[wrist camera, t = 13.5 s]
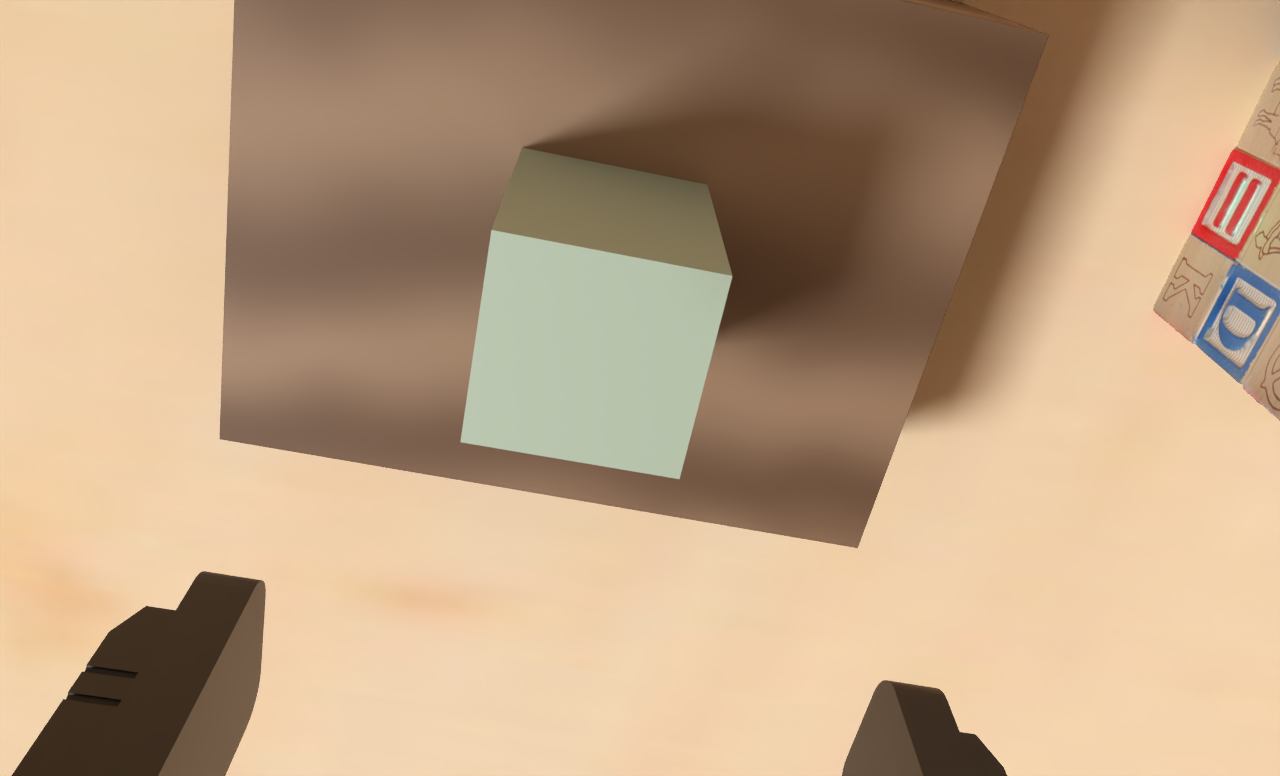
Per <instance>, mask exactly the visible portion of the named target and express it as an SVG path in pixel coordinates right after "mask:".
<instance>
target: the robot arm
mask: <svg viewBox="0 0 1280 776" xmlns="http://www.w3.org/2000/svg"><path fill="white" fill-rule="evenodd" d="M265 592H266V591H265V583H264V581H262V580H255V579H249V578H243V577H236V576H230V575H224V574H217V573H211V572H201V573H200V574H199V575H198V576H197V577H196V578H195V580H194V582H193V583H192V585H191V586H190V588H189V590H188V591H187V593H186V595H185V596H184V598H183V600H182V601H181V603H180V605H179V606H178V608H177V610H176V611H175V610H169V609H162V608H155V607H149V606H146V607H144V608H143V609H141V610H140V611H138V612H137V613H136V614H134V615H133V616H131V617H130V618H128V619H127V620H126V621H124V622H123V623H121V624H120V625H118V626H117V627H116V628H114V629H113V630H111V631H110V632H109V633H108V634H107V636H106V637H105V639H104V640H103V642H102V643H101V645H100V646H99V648H98V649H97V651H96V652H95V654H94V655H93V656H92V658H91V659H90V661H89V662H88V664H87V667H86V670H85V672H82V673H81V674H80V676H79V677H78V679H77V680H76V682H75V683H74V684H73V686H72V687H71V689H70V690H69V692H68V696H67V699H66V700H65V699H63V701H62V702H61V704H60V705H59V707H58V708H57V710H56V711H55V713H54V714H53V715H52V717H51V718H50V720H49V721H48V723H47V724H46V726H45V727H44V729H43V730H42V732H41V733H40V735H39V736H38V738H37V739H36V741H35V742H34V743H33V745H32V746H31V748H30V749H29V751H28V752H27V754H26V755H25V757H24V758H23V760H22V761H21V763H20V764H19V766H18V767H17V769H16V770H15V772H14V773H13V774H12V776H225V775H226V772H227V770H228V768H229V766H230V763H231V761H232V759H233V757H234V754H235V752H236V750H237V748H238V745H239V743H240V741H241V738H242V736H243V734H244V732H245V729H246V727H247V725H248V722H249V720H250V717H251V714H252V711H253V707H254V704H255V700H256V696H257V692H258V687H259V681H260V674H261V659H262V643H263V627H264V610H265ZM842 776H1007V774H1006V772H1005V770H1004V767H1003V766H1002V765H1001V764H1000V763H999V762H998V760H997V759H996V758H995V757H994V756H993V754H992V753H991V752H990V751H989V750H988V749H987V747H986V746H985V745H984V744H983V743H982V741H981V740H980V739H979V738H978V737H977V736H976V735H975V734H968V733H962V732H959V729H958V727H957V724H956V722H955V719H954V717H953V714H952V711H951V709H950V706H949V704H948V701H947V699H946V697H945V695H944V693H943V692H942V691H941V690H940V689H937V688H931V687H925V686H919V685H912V684H906V683H900V682H893V681H887V680H885V681H882V682H881V683H880V684H879V685H878V686H877V688H876V689H875V692H874V694H873V696H872V699H871V701H870V703H869V706H868V708H867V711H866V713H865V715H864V718H863V720H862V723H861V725H860V727H859V730H858V732H857V735H856V737H855V739H854V742H853V744H852V747H851V749H850V751H849V754H848V756H847V759H846V762H845V765H844V768H843V774H842Z"/></svg>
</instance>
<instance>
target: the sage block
mask: <svg viewBox="0 0 1280 776" xmlns="http://www.w3.org/2000/svg"><path fill="white" fill-rule="evenodd" d="M731 280H732V272H731V269H730V265H729V261H728V258H727V254H726V250H725V247H724V243H723V240H722V236H721V232H720V229H719V225H718V221H717V218H716V214H715V210H714V207H713V203H712V200H711V196H710V192H709V189H708V185H707V184H702V183H697V182H692V181H687V180H682V179H677V178H672V177H667V176H662V175H657V174H652V173H647V172H642V171H637V170H632V169H627V168H622V167H617V166H612V165H607V164H602V163H597V162H592V161H587V160H582V159H577V158H572V157H567V156H562V155H557V154H552V153H547V152H542V151H537V150H532V149H527V148H522V149H521V152H520V155H519V157H518V160H517V163H516V165H515V168H514V171H513V174H512V176H511V179H510V182H509V184H508V187H507V190H506V192H505V195H504V198H503V200H502V203H501V206H500V208H499V211H498V214H497V216H496V219H495V222H494V224H493V227H492V230H491V236H490V243H489V250H488V257H487V264H486V270H485V277H484V284H483V291H482V298H481V305H480V311H479V318H478V325H477V332H476V339H475V346H474V352H473V359H472V366H471V373H470V380H469V386H468V393H467V400H466V407H465V414H464V421H463V427H462V434H461V441H460V442H462V443H468V444H474V445H480V446H486V447H492V448H498V449H504V450H509V451H515V452H521V453H527V454H533V455H539V456H545V457H551V458H557V459H563V460H569V461H575V462H580V463H586V464H592V465H598V466H604V467H610V468H616V469H622V470H628V471H634V472H640V473H646V474H652V475H657V476H663V477H669V478H675V479H680V475H681V472H682V468H683V464H684V460H685V456H686V452H687V449H688V445H689V441H690V437H691V433H692V429H693V426H694V422H695V418H696V414H697V410H698V406H699V403H700V399H701V395H702V391H703V387H704V383H705V380H706V376H707V372H708V368H709V364H710V360H711V357H712V353H713V349H714V345H715V341H716V337H717V334H718V330H719V326H720V322H721V318H722V314H723V311H724V307H725V303H726V299H727V295H728V291H729V288H730V284H731Z"/></svg>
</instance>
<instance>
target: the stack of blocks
mask: <svg viewBox="0 0 1280 776" xmlns="http://www.w3.org/2000/svg"><path fill="white" fill-rule="evenodd" d="M1153 310H1154V311H1155V313H1156V314H1158V315H1159V316H1160V317H1161V318H1162V319H1164V320H1165V321H1166V322H1167V323H1169V324H1170V325H1171V326H1172V327H1174V328H1175V329H1176V331H1178V332H1179V333H1181V334H1182V335H1183V336H1184V337H1185V338H1186V339H1187V340H1189V341H1191V342H1192V343H1193V344H1196V345H1197V346H1198V347H1199V348H1200V349H1201V350H1202V351H1203V352H1204V353H1205V354H1206V355H1208V356H1209V357H1210V358H1211V359H1212V360H1213V361H1215V362H1216V363H1217V364H1218V365H1219V366H1220V367H1222V368H1223V369H1224V370H1225V371H1226V372H1227V373H1228V374H1230V375H1231V376H1232V377H1233V378H1234V379H1235V380H1236V381H1237V382H1238V383H1240V384H1242V385H1243V388H1244V390H1245V391H1246V392H1247V393H1248V394H1250V395H1251V396H1252V397H1254V399H1255V400H1256V401H1257V402H1258V403H1260V404H1261V405H1263V406H1264V407H1265V408H1266V409H1267V410H1268V411H1269V412H1270V413H1272V414H1273V415H1274V416H1275V417H1277V418H1278V419H1279V420H1280V61H1279V62H1278V64H1277V66H1276V67H1275V69H1274V71H1273V73H1272V75H1271V77H1270V79H1269V81H1268V83H1267V86H1266V88H1265V90H1264V92H1263V94H1262V96H1261V98H1260V100H1259V102H1258V104H1257V106H1256V108H1255V110H1254V112H1253V114H1252V116H1251V118H1250V120H1249V122H1248V124H1247V126H1246V128H1245V130H1244V132H1243V134H1242V136H1241V138H1240V140H1239V143H1238V145H1237V147H1236V148H1235V149H1234V150H1233V151H1232V152H1231V154H1230V156H1229V158H1228V160H1227V162H1226V164H1225V166H1224V168H1223V170H1222V172H1221V174H1220V176H1219V178H1218V180H1217V182H1216V184H1215V186H1214V188H1213V190H1212V192H1211V194H1210V196H1209V198H1208V200H1207V202H1206V204H1205V206H1204V208H1203V210H1202V212H1201V214H1200V216H1199V218H1198V220H1197V222H1196V224H1195V226H1194V228H1193V230H1192V233H1191V235H1190V236H1189V238H1188V239H1187V241H1186V243H1185V245H1184V247H1183V249H1182V251H1181V253H1180V255H1179V257H1178V259H1177V261H1176V263H1175V265H1174V267H1173V269H1172V271H1171V273H1170V275H1169V277H1168V279H1167V281H1166V283H1165V285H1164V287H1163V289H1162V291H1161V293H1160V295H1159V297H1158V299H1157V301H1156V303H1155V305H1154V309H1153Z"/></svg>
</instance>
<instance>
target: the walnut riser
mask: <svg viewBox="0 0 1280 776" xmlns="http://www.w3.org/2000/svg"><path fill="white" fill-rule="evenodd" d="M1048 36H1049V35H1047V34H1044V33H1041V32H1039V31H1036V30H1033V29H1030V28H1028V27H1025V26H1022V25H1020V24H1017V23H1014V22H1011V21H1009V20H1006V19H1003V18H1001V17H998V16H995V15H993V14H990V13H987V12H984V11H982V10H979V9H976V8H974V7H971V6H968V5H966V4H961V3H957V2H953V1H948V0H235V2H234V32H233V61H232V90H231V120H230V149H229V179H228V208H227V238H226V267H225V296H224V326H223V355H222V385H221V414H220V439H223V440H228V441H234V442H240V443H246V444H252V445H258V446H264V447H269V448H275V449H281V450H287V451H293V452H299V453H304V454H310V455H316V456H322V457H328V458H334V459H340V460H345V461H351V462H357V463H363V464H369V465H375V466H381V467H386V468H392V469H398V470H404V471H410V472H416V473H422V474H427V475H433V476H439V477H445V478H451V479H457V480H463V481H468V482H474V483H480V484H486V485H492V486H498V487H504V488H509V489H515V490H521V491H527V492H533V493H539V494H545V495H550V496H556V497H562V498H568V499H574V500H580V501H586V502H591V503H597V504H603V505H609V506H615V507H621V508H626V509H632V510H638V511H644V512H650V513H656V514H662V515H667V516H673V517H679V518H685V519H691V520H697V521H703V522H708V523H714V524H720V525H726V526H732V527H738V528H744V529H749V530H755V531H761V532H767V533H773V534H779V535H785V536H790V537H796V538H802V539H808V540H814V541H820V542H826V543H831V544H837V545H843V546H849V547H855V548H858V545H859V543H860V540H861V537H862V535H863V532H864V529H865V527H866V524H867V521H868V519H869V516H870V513H871V511H872V508H873V505H874V503H875V500H876V497H877V494H878V492H879V489H880V486H881V484H882V481H883V478H884V476H885V473H886V470H887V468H888V465H889V462H890V460H891V457H892V454H893V452H894V449H895V446H896V444H897V441H898V438H899V436H900V433H901V430H902V427H903V425H904V422H905V419H906V417H907V414H908V411H909V409H910V406H911V403H912V401H913V398H914V395H915V393H916V390H917V387H918V385H919V382H920V379H921V377H922V374H923V371H924V368H925V366H926V363H927V360H928V358H929V355H930V352H931V350H932V347H933V344H934V342H935V339H936V336H937V334H938V331H939V328H940V326H941V323H942V320H943V318H944V315H945V312H946V310H947V307H948V304H949V301H950V299H951V296H952V293H953V291H954V288H955V285H956V283H957V280H958V277H959V275H960V272H961V269H962V267H963V264H964V261H965V259H966V256H967V253H968V251H969V248H970V245H971V242H972V240H973V237H974V234H975V232H976V229H977V226H978V224H979V221H980V218H981V216H982V213H983V210H984V208H985V205H986V202H987V200H988V197H989V194H990V192H991V189H992V186H993V184H994V181H995V178H996V175H997V173H998V170H999V167H1000V165H1001V162H1002V159H1003V157H1004V154H1005V151H1006V149H1007V146H1008V143H1009V141H1010V138H1011V135H1012V133H1013V130H1014V127H1015V125H1016V122H1017V119H1018V116H1019V114H1020V111H1021V108H1022V106H1023V103H1024V100H1025V98H1026V95H1027V92H1028V90H1029V87H1030V84H1031V82H1032V79H1033V76H1034V74H1035V71H1036V68H1037V66H1038V63H1039V60H1040V58H1041V55H1042V52H1043V49H1044V47H1045V44H1046V41H1047V39H1048ZM522 148H527V149H532V150H537V151H542V152H547V153H552V154H557V155H562V156H567V157H572V158H577V159H582V160H587V161H592V162H597V163H602V164H607V165H612V166H617V167H622V168H627V169H632V170H637V171H642V172H647V173H652V174H657V175H662V176H667V177H672V178H677V179H682V180H687V181H692V182H697V183H702V184H707V185H708V189H709V192H710V196H711V200H712V203H713V207H714V210H715V214H716V218H717V221H718V225H719V229H720V232H721V236H722V240H723V243H724V247H725V250H726V254H727V258H728V261H729V265H730V269H731V272H732V280H731V284H730V288H729V291H728V295H727V299H726V303H725V307H724V311H723V314H722V318H721V322H720V326H719V330H718V334H717V337H716V341H715V345H714V349H713V353H712V357H711V360H710V364H709V368H708V372H707V376H706V380H705V383H704V387H703V391H702V395H701V399H700V403H699V406H698V410H697V414H696V418H695V422H694V426H693V429H692V433H691V437H690V441H689V445H688V449H687V452H686V456H685V460H684V464H683V468H682V472H681V475H680V479H675V478H669V477H663V476H657V475H652V474H646V473H640V472H634V471H628V470H622V469H616V468H610V467H604V466H598V465H592V464H586V463H580V462H575V461H569V460H563V459H557V458H551V457H545V456H539V455H533V454H527V453H521V452H515V451H509V450H504V449H498V448H492V447H486V446H480V445H474V444H468V443H462V442H460V441H461V434H462V427H463V421H464V414H465V407H466V400H467V393H468V386H469V380H470V373H471V366H472V359H473V352H474V346H475V339H476V332H477V325H478V318H479V311H480V305H481V298H482V291H483V284H484V277H485V270H486V264H487V257H488V250H489V243H490V236H491V230H492V227H493V224H494V222H495V219H496V216H497V214H498V211H499V208H500V206H501V203H502V200H503V198H504V195H505V192H506V190H507V187H508V184H509V182H510V179H511V176H512V174H513V171H514V168H515V165H516V163H517V160H518V157H519V155H520V152H521V149H522Z"/></svg>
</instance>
